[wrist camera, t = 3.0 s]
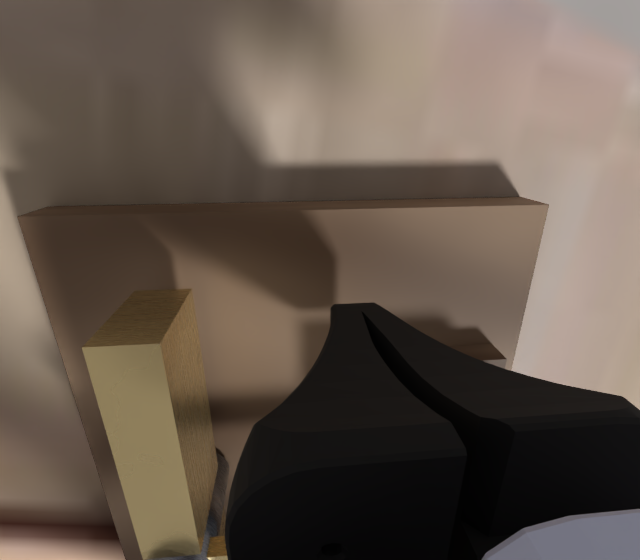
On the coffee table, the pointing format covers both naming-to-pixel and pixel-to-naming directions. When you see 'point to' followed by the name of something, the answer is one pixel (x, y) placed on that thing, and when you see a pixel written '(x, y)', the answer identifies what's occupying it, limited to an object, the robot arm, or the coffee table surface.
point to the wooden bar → (161, 424)
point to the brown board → (280, 290)
